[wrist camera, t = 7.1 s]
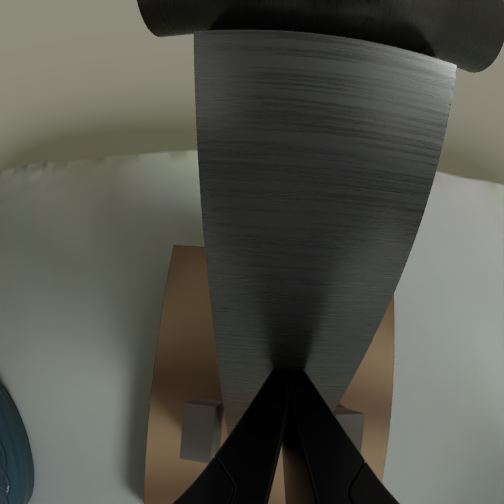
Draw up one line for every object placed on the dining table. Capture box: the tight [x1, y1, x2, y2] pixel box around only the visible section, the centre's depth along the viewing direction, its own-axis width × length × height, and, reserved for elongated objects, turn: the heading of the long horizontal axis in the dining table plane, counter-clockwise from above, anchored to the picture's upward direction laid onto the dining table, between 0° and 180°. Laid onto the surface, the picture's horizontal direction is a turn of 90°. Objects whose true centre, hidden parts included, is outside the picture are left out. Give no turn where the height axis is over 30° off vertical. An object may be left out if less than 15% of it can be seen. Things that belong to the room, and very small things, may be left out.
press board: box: [144, 245, 394, 504], centre depth 12 cm, size 16×12×7 cm
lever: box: [137, 0, 504, 446], centre depth 8 cm, size 2×5×16 cm
